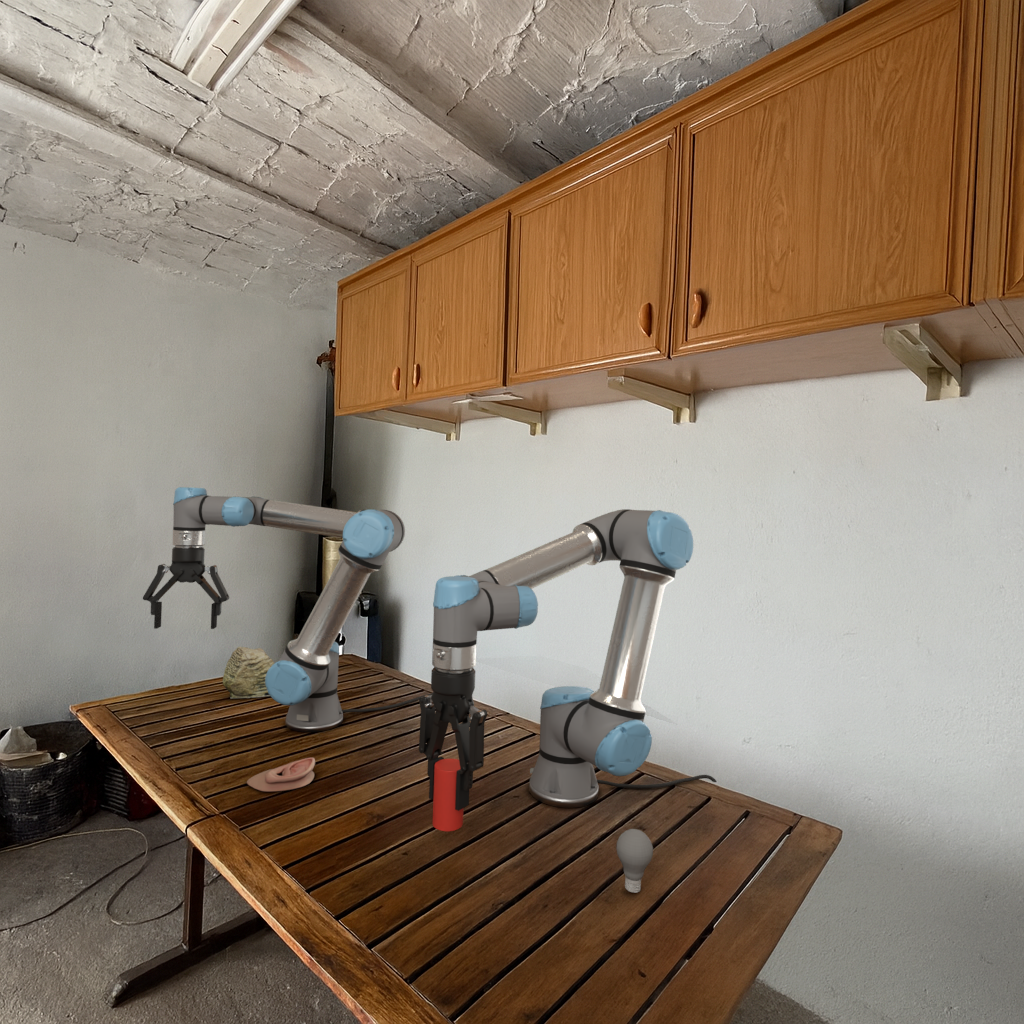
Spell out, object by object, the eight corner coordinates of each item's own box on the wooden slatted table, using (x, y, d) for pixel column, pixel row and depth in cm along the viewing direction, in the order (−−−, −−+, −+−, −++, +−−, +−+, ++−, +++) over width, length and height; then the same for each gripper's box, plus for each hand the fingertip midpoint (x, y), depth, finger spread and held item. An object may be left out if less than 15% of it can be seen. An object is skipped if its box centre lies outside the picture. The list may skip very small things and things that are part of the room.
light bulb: (610, 879, 108) (613, 822, 108) (644, 879, 109) (647, 822, 109) (619, 902, 102) (622, 840, 102) (655, 901, 103) (658, 840, 103)
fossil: (218, 695, 195) (220, 647, 195) (278, 685, 208) (279, 640, 207) (228, 703, 189) (230, 653, 188) (289, 692, 201) (290, 645, 201)
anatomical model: (238, 769, 136) (269, 749, 147) (238, 787, 136) (269, 766, 147) (295, 777, 133) (322, 756, 144) (294, 796, 133) (321, 773, 144)
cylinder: (466, 828, 108) (469, 768, 107) (437, 833, 106) (439, 772, 105) (457, 814, 113) (459, 756, 112) (428, 818, 111) (431, 760, 110)
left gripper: (130, 546, 159) (127, 630, 159) (236, 549, 163) (233, 630, 164) (142, 543, 166) (139, 624, 166) (242, 546, 171) (240, 625, 171)
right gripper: (399, 661, 111) (395, 793, 111) (482, 683, 100) (476, 828, 101) (429, 654, 117) (424, 778, 117) (509, 673, 106) (504, 810, 107)
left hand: (185, 627), depth 165 cm, fingers open, 13 cm apart
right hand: (448, 801), depth 109 cm, fingers closed on cylinder, 5 cm apart
